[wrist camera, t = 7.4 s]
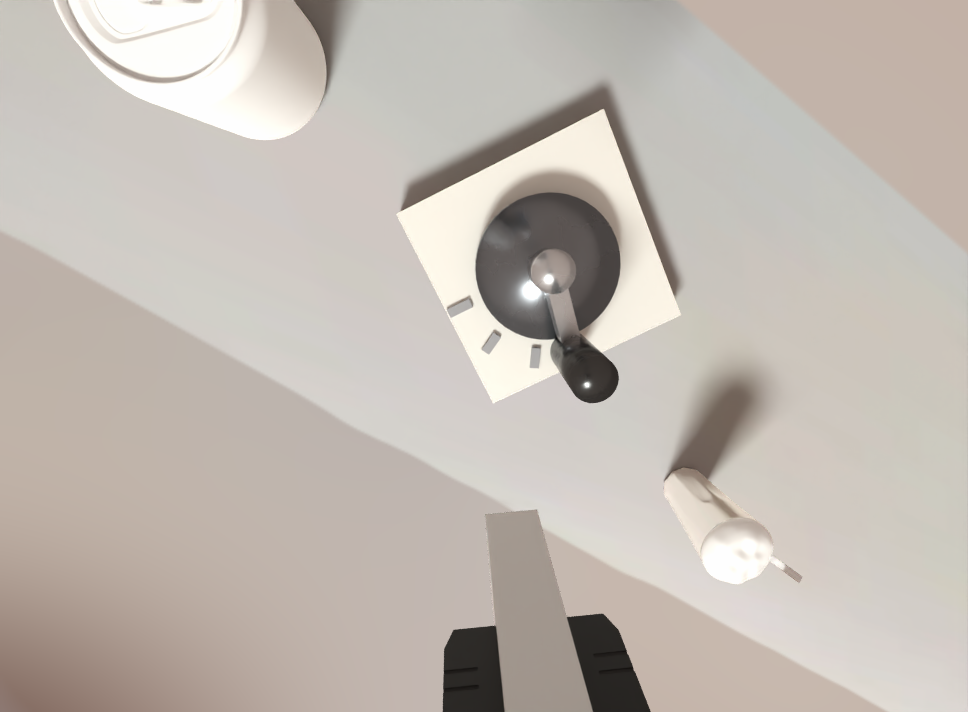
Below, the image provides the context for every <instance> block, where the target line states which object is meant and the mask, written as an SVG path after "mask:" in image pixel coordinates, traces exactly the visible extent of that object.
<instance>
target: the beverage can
mask: <svg viewBox="0 0 968 712" xmlns="http://www.w3.org/2000/svg"><path fill="white" fill-rule="evenodd" d="M53 1H54V4H55V6H56V9H57V11H58V13H59V15H60V17H61V19H62V21H63V23H64V24H65V26H66V28H67V29H68V31H69V32H70V34H71V35H72V37H73V38H74V39H75V41H76V42H77V43H78V44H79V45H80V47H81V48H82V49H83V50H84V51H85V53H86V54H87V55H88V57H89V58H90V59H91V60H92V62H93V63H94V64H95V65H96V66H97V67H98V68H99V69H100V70H101V71H102V72H103V73H104V74H105V75H106V76H107V77H108V78H110V79H111V80H112V81H113V82H114V83H116V84H117V85H119V86H120V87H121V88H123V89H124V90H126V91H128V92H129V93H131V94H133V95H135V96H137V97H139V98H141V99H143V100H145V101H148V102H150V103H153V104H156V105H159V106H161V107H164V108H167V109H170V110H172V111H175V112H178V113H181V114H183V115H186V116H189V117H191V118H194V119H197V120H200V121H202V122H205V123H208V124H211V125H213V126H216V127H219V128H222V129H224V130H227V131H230V132H233V133H235V134H238V135H241V136H244V137H247V138H251V139H257V140H273V139H279V138H283V137H286V136H288V135H291V134H293V133H294V132H296V131H298V130H299V129H301V128H302V127H303V126H304V125H306V124H307V123H308V122H309V120H310V119H311V118H312V117H313V116H314V114H315V113H316V111H317V109H318V107H319V105H320V103H321V101H322V98H323V95H324V91H325V86H326V76H327V71H326V60H325V55H324V51H323V48H322V45H321V42H320V39H319V37H318V35H317V33H316V31H315V29H314V28H313V26H312V24H311V23H310V22H309V20H308V19H307V17H306V16H305V15H304V13H303V12H302V11H301V10H300V8H299V7H298V6H297V4H296V3H295V2H294V0H53Z"/></svg>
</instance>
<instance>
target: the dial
mask: <svg viewBox="0 0 968 712" xmlns="http://www.w3.org/2000/svg"><path fill="white" fill-rule="evenodd" d="M620 267H621V263H620V251H619V246H618V242H617V239H616V236H615V234H614V232H613V230H612V228H611V226H610V225H609V223H608V221H607V220H606V219H605V218H604V216H603V215H602V214H601V213H600V212H599V211H598V210H597V209H596V208H594V207H593V206H592V205H590V204H589V203H587V202H586V201H584V200H582V199H580V198H577V197H574V196H571V195H568V194H563V193H553V192H547V193H538V194H534V195H530V196H526V197H524V198H521V199H518V200H516V201H515V202H513V203H511V204H509V205H508V206H506V207H505V208H504V209H502V210H501V211H500V212H499V213H498V214H497V215H496V216H495V217H494V218H493V219H492V221H491V222H490V223H489V224H488V226H487V228H486V229H485V231H484V233H483V235H482V237H481V239H480V242H479V245H478V248H477V252H476V259H475V275H476V281H477V286H478V289H479V292H480V295H481V297H482V300H483V302H484V304H485V305H486V307H487V309H488V310H489V311H490V313H491V314H492V315H493V317H494V318H495V319H496V320H497V321H498V322H499V323H501V324H502V325H503V326H504V327H506V328H507V329H509V330H511V331H512V332H514V333H517V334H519V335H521V336H524V337H528V338H532V339H539V340H551V339H555V340H554V341H553V343H552V345H551V349H550V355H551V359H552V361H553V363H554V364H555V366H556V367H557V369H558V370H559V372H560V373H561V375H562V376H563V378H564V379H565V381H566V382H567V384H568V385H569V387H570V388H571V390H572V391H573V393H574V394H575V396H576V397H577V398H579V399H580V400H582V401H584V402H587V403H598V402H601V401H604V400H606V399H607V398H609V397H610V396H611V395H612V394H613V393H614V391H615V390H616V388H617V385H618V380H619V376H618V371H617V369H616V367H615V366H614V364H613V363H612V362H611V361H610V360H609V359H608V358H607V357H605V356H604V355H603V354H602V353H601V352H600V351H599V350H598V349H597V348H596V347H595V346H594V345H593V344H592V343H591V342H590V341H589V340H588V339H586V338H585V337H584V336H583V335H582V334H580V333H579V331H581V330H583V329H584V328H586V327H587V326H589V325H590V324H591V323H592V322H594V321H595V320H596V319H597V318H598V317H599V316H600V315H601V314H602V312H603V311H604V310H605V309H606V307H607V306H608V304H609V303H610V301H611V299H612V297H613V295H614V293H615V290H616V288H617V285H618V280H619V276H620Z"/></svg>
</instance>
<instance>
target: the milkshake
mask: <svg viewBox="0 0 968 712" xmlns="http://www.w3.org/2000/svg"><path fill="white" fill-rule="evenodd" d="M664 495H665V497H666V499H667V500H668V502H669V504H670V506H671V507H672V509H673V511H674V512H675V514H676V516H677V518H678V519H679V521H680V523H681V524H682V526H683V528H684V530H685V531H686V533H687V535H688V537H689V539H690V540H691V542H692V544H693V546H694V548H695V550H696V552H697V554H698V555H699V557H700V559H701V561H702V563H703V565H704V567H705V569H706V570H707V572H708V573H709V574H710V575H711V576H713V577H714V578H716V579H718V580H721V581H725V582H728V583H732V584H741V583H743V582H745V581H747V580H749V579H752V578H755V577H757V576H758V575H759V574H760V573H761V572H762V571H763V570H764V569H765V567H766V566H767V564H768V563H769V561H770V562H771V563H773V564H774V565H775V566H777V567H778V568H779V569H781V570H782V571H784V572H785V573H786V574H788V575H789V576H790V577H792V578H793V579H794V580H796V581H797V582H800V581H801V579H802V576H801V575H799V574H798V573H797V572H795V571H794V570H792V569H791V568H790V567H788V566H787V565H786V564H784V563H783V562H781V561H780V560H779V559H777V558H776V557H775V556H773V555H772V552H773V540H772V537H771V535H770V533H769V532H768V530H767V529H766V528H765V527H764V526H763V525H762V524H761V523H759V522H758V521H757V520H756V519H754V518H753V517H752V516H751V515H749V514H748V513H747V512H746V511H744V510H743V509H742V508H741V507H739V506H738V505H737V504H736V503H734V502H733V501H732V500H731V499H730V498H729V497H727V496H726V495H725V494H724V493H723V492H722V491H720V490H719V489H718V488H717V487H716V486H715V485H713V484H712V483H711V482H710V481H709V480H708V479H707V478H705V477H704V476H703V475H702V474H701V473H700V472H698V471H697V470H695V469H690V468H685V467H683V468H681V469H678V470H676V471H673V472H671V474H670V475H669V476H668V478H667V479H666V480H665V481H664Z"/></svg>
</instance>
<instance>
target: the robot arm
mask: <svg viewBox="0 0 968 712" xmlns="http://www.w3.org/2000/svg"><path fill="white" fill-rule="evenodd" d="M485 516H486V530H487V543H488V556H489V569H490V582H491V595H492V605H493V616H494V626H488V627H478V628H468V629H458V630H453V632H452V635H451V636H450V639H449V641H448V642H447V645H446V647H445V649H444V683H443V689H444V693H443V712H650V709H649V706H648V704H647V701H646V699H645V696H644V694H643V691H642V689H641V686H640V683H639V681H638V678H637V676H636V673H635V672H634V670H633V666H632V663H631V661H630V658H629V655H628V654H627V650H626V648H625V645H624V643H623V640H622V638H621V635H620V633H619V630H618V629H617V628H616V627H615V626H614V625H613V624H612V623H611V622H610V621H609V619H608V618H607V617H606V616H605V615H604V614H594V615H585V616H574V617H566V613H565V609H564V605H563V602H562V598H561V595H560V591H559V587H558V584H557V580H556V577H555V573H554V569H553V566H552V562H551V559H550V555H549V551H548V548H547V544H546V541H545V537H544V533H543V530H542V526H541V523H540V519H539V515H538V512H537V510H528V511H517V512H506V513H495V514H486V515H485Z"/></svg>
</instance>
